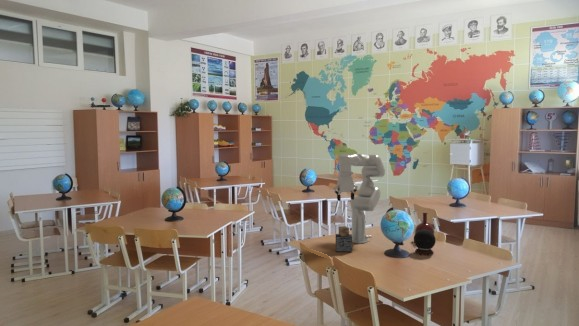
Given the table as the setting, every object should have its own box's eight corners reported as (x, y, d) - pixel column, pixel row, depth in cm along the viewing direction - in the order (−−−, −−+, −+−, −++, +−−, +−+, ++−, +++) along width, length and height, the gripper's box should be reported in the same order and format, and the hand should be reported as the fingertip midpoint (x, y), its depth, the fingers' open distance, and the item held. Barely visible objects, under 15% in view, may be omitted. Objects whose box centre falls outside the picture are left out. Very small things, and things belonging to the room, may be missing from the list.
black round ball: (409, 251, 267) (409, 228, 266) (426, 249, 271) (427, 226, 270) (421, 256, 255) (422, 232, 254) (439, 254, 259) (440, 230, 258)
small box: (351, 249, 271) (351, 233, 270) (352, 252, 265) (352, 236, 264) (335, 249, 272) (335, 233, 272) (335, 252, 266) (335, 236, 265)
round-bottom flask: (437, 244, 283) (437, 215, 282) (417, 244, 284) (418, 215, 282) (430, 239, 296) (431, 211, 295) (412, 239, 297) (412, 211, 295)
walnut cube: (345, 233, 271) (345, 226, 271) (349, 235, 266) (349, 227, 266) (338, 234, 269) (338, 226, 269) (341, 236, 265) (341, 228, 264)
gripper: (354, 172, 277) (354, 197, 279) (330, 174, 272) (331, 200, 273) (359, 173, 270) (360, 199, 272) (335, 175, 265) (336, 202, 266)
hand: (345, 200), depth 273 cm, fingers open, 9 cm apart
